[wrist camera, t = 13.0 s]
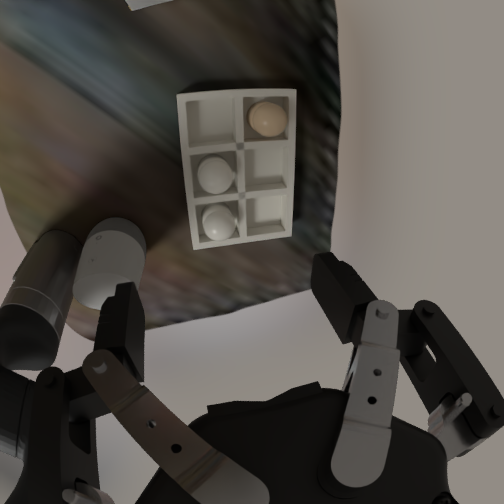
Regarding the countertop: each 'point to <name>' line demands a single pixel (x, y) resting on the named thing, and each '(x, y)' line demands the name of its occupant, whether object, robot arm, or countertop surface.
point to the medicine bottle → (143, 3)
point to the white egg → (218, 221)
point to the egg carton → (239, 162)
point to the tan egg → (266, 118)
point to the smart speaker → (109, 261)
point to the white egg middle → (214, 174)
